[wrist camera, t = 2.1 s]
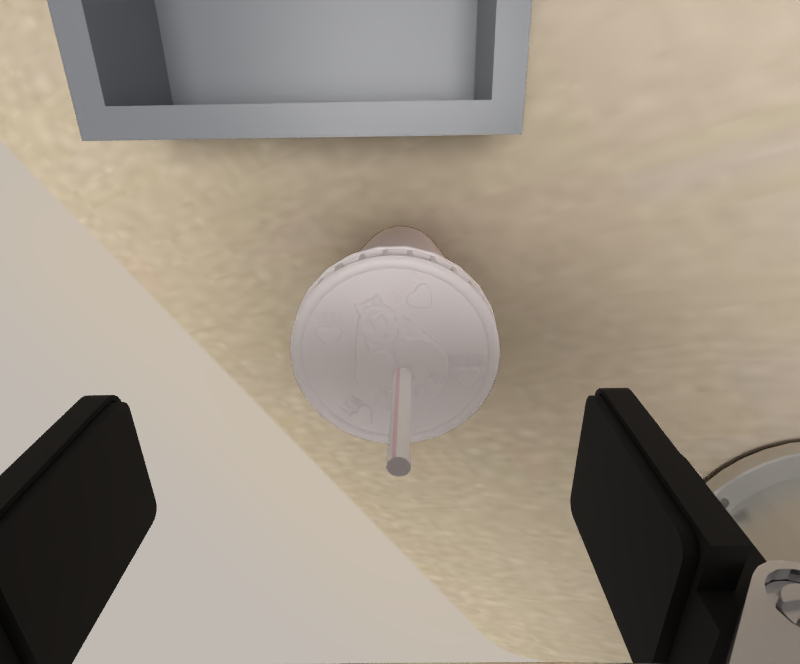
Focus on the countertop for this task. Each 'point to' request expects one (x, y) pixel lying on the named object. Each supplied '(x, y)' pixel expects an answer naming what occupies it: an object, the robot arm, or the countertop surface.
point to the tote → (293, 67)
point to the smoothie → (395, 344)
